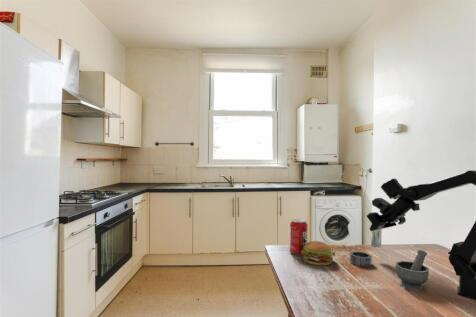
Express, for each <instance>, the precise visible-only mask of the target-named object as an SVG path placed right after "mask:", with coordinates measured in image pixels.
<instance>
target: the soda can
mask: <svg viewBox="0 0 476 317" xmlns="http://www.w3.org/2000/svg"><path fill="white" fill-rule="evenodd" d="M308 227H309V225H308V223H307V220H306V219H302V218H293V219H291V222H290V223H289V252H290V253H291V254H293V255H295V256H302V254H301V251H302V250H303V246H305V244H306V243H308V236H309V235H308V232H309V230H308V229H309V228H308Z"/></svg>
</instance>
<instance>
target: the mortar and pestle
mask: <svg viewBox="0 0 476 317" xmlns="http://www.w3.org/2000/svg"><path fill="white" fill-rule="evenodd" d="M427 255H428V253H427V252H426V251H424V250H422V249H418V250H417V255H416V256H415V259H414V261H405V260H401V261H396V263H395V273H396V275H397V277H398V278H399V279H400V280H401V283H400V285H401V287H403V288H405V289H407V290H410V291H415V292H418V291H419V292H420V291H423V285H424V284H426V283H427V281H428V280H429V272H430V271H429V267H427V266H425V265H424V263H425V262H424V261H425V258H426V257H427Z"/></svg>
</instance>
